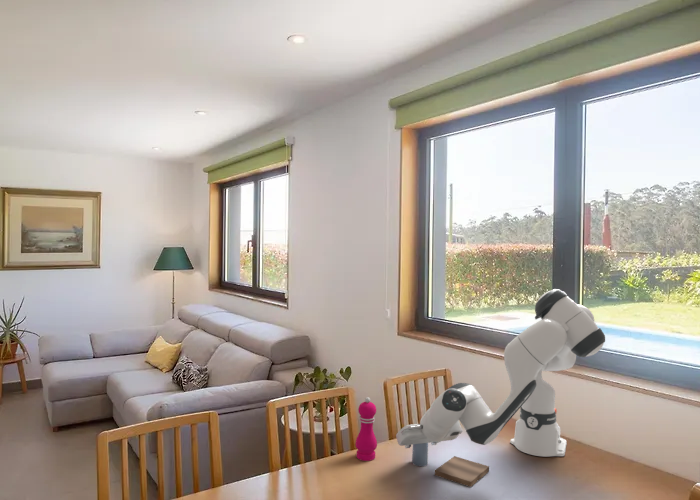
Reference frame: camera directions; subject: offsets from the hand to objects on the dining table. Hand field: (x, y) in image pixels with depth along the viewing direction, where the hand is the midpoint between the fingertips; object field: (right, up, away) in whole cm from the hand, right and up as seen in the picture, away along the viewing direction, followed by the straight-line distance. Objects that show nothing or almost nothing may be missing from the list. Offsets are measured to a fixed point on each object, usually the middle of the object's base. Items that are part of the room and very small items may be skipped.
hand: (419, 444), depth 169 cm
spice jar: (0, -6, 0) cm, 6 cm away
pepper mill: (-18, -5, +3) cm, 19 cm away
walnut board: (+12, -6, -7) cm, 16 cm away
